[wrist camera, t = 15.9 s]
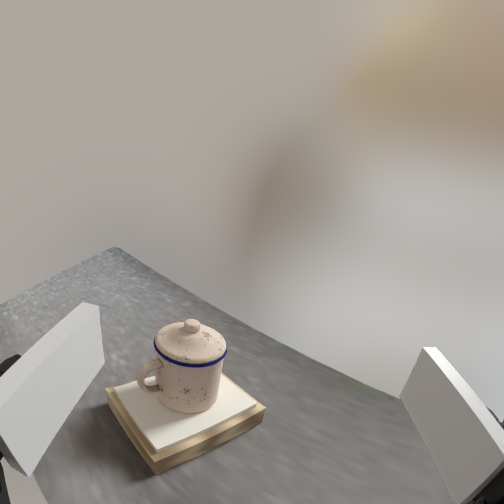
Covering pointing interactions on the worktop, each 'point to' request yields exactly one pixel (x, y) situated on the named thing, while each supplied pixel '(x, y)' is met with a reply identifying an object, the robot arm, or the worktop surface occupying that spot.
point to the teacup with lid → (186, 366)
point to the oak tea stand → (181, 422)
